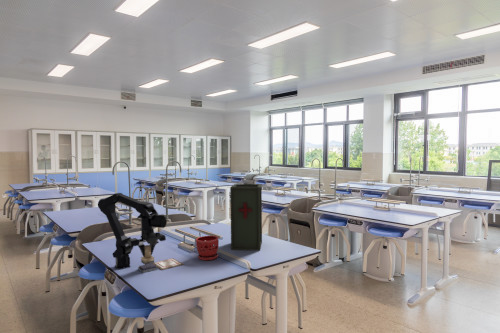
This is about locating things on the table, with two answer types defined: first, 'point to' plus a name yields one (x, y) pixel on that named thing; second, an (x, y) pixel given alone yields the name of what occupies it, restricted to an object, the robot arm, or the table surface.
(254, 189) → the first aid box
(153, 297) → the table surface
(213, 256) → the plant pot
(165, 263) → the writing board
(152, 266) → the dark grey flat block
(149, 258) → the stamp
